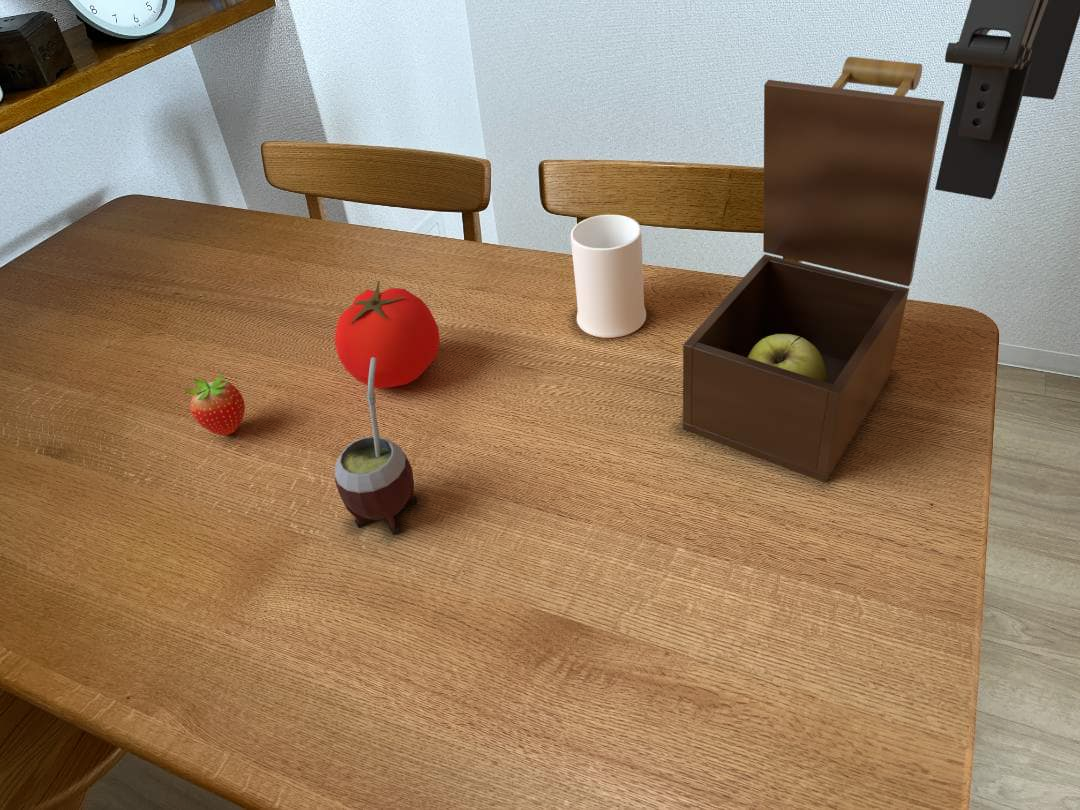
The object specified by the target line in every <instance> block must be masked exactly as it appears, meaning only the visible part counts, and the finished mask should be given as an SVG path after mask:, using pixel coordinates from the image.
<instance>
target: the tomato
mask: <svg viewBox="0 0 1080 810" xmlns="http://www.w3.org/2000/svg"><path fill="white" fill-rule="evenodd" d="M347 307H348V308H346V309H345V310H343V312H342V313H341V315H339V317H338V320H337V324H336V328H335V333H334V346H335V349H336V353H337V356H338V359H339V361H340V362H341V364H342V366H343V367H344V369H345V370H346V371H347V372H348V373H349V374H350V376H352V377H353V378H354V379H355V381H357V382H360V383H361V384H363V385H366V386H368V377H369V369H370V361H371V358H376V367H375V375H374V389H375V388H376V389H386V388H387V389H388V388H394V387H401V386H405V385H408V384H410V383H412V382H414V381H415V380H417V379H418V378H419V377H420V376H421V375H422V374H423V373H424V372H425V371H426V370H427V369H428V367H429V366H430V365H431V364H432V362H433V361H434V360H435V359H436V356H437V354H438V350H439V347H440V345H441V340H440V339H441V338H440V331H439V330H440V329H439V325H438V324H437V321H436V320H435V318H434V315H433V313H432V312H431V309H430V308H429V307H428V305H426V303H425V302H424V301H423V300H422V299H421V298H420V297H418V296H416V295H415V294H414V293H412V292H410V291H409V290H407V289H406V288H400V287H399V288H398V287H389V288H387V289H385V290H384V291H382V292H380V280H378V281H377V283H376V288H375V290H373V289H366V290H364V291H363V292H361V293H360V294H358V295H356V296H355V297H354V300H353V301H352V303H351V304H350V305H347Z"/></svg>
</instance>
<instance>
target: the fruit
mask: <svg viewBox="0 0 1080 810" xmlns="http://www.w3.org/2000/svg"><path fill="white" fill-rule="evenodd" d="M193 380H194V383H195V385H196V387H198V388H190V389H186V388H184V389H182V390H183V391H185V392H186V393H188V394H193V396H192V397H191V400H190V405H189V408H190V413H191V415H192V417H193V418H194V420H195V421H196V422H197V423H198V424H199V425H200V426H201V427H203V428H204V429H205V430H207V431H209V432H211V433H212V434H216V435H219V436H228V435H231V434H233V433H236V431H237V430H238V429H239V428H240V425H241V424H242V422H243V419H244V416H245V411H246V405H245V404H246V403H245V399H244V398H243V394H241V391H240V390H239V389H238V388H237V387H236V386H235V385H234V384H232V383H230V382H229V381H230V379H228V380H223V373H222V374H221V375H219V376H218V377H217V378H216V379H215V380H212V381H209V382H207V380H206V378H203V380H200V379H197V378H195V377H194V378H193Z"/></svg>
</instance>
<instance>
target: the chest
mask: <svg viewBox="0 0 1080 810" xmlns="http://www.w3.org/2000/svg"><path fill="white" fill-rule="evenodd" d="M909 293H910V288H909V287H906V286H902V285H899V286H898V285H895V284H891V283H889V282H883V281H880V280H879V281H878V280H876V279H871V278H868V277H862V276H857V275H855V274H851V273H850V274H849V273H847V272H842V271H837V270H833V269H830V268H829V269H828V268H826V267H821V266H816V265H813V264H812V265H811V264H809V263H808V264H807V263H805V262H801V261H796V260H791V259H788V258H787V259H786V258H784V257H783V258H782V257H780V256H779V257H778V256H773V255H771V254H767V253H764V254H763V255H762V256H761V258H760V259H759V260H758V261H757V262H756V263H755V264H754V265H753V266H752V268H751V269H749V270H748V272H747V273H746V274H745V275H744V277H743V278H742V279H741V280H740V281H739V282H738V283H737V284H736V285H735V286H734V287H733V289H731V291H730V292H729V293H728V294H727V295H726V296H725V298H723V300H721V302H720V303H719V304H718V305H717V306H716V308H715V309H714V310H713V311H712V312H711V313H710V314H709V315H708V317H707V318H706V319H705V320H704V321H703V322H702V323H701V324H700V325H699V327H697V329H696V330H695V331H694V332H693V333H692V334H691V336H689V337H688V339H687V340H686V341H685V342H684V343H683V345H682V430H684V431H686V432H689V433H692V434H695V435H697V436H700V437H703V438H704V439H708V440H710V441H713V442H715V443H718V444H720V445H724V446H726V447H729V448H732V449H733V450H734V449H735V450H737V451H740V452H742V453H745V454H747V455H750V456H753V457H756V458H758V459H761V460H764V461H766V462H769V463H770V464H771V463H772V464H774V465H777V466H780V467H782V468H785V469H788V470H791V471H793V472H795V473H798V474H801V475H804V476H806V477H809V478H812V479H814V480H817V481H819V482H822V483H826V482H827V481H828V479H829V477H830V475H831V473H832V472H833V471H834V469H835V468H836V465H837V464H838V463H839V460H840V459H841V457H842V456H843V454H844V452H845V450H846V449H847V448H848V445H849V444H850V443H851V441H852V439H853V437H854V436H855V434H856V432H857V431H858V429H859V428H860V426H861V424H862V423H863V421H864V419H865V418H866V416H867V414H868V412H869V411H870V409H871V408H872V406H873V404H874V403H875V401H876V400H877V398H878V396H879V395H880V393H881V391H882V389H883V388H884V387H885V384H886V383H887V382H888V380H889V378H890V376H891V373H892V369H893V364H894V359H895V356H896V350H897V346H898V342H899V337H900V333H901V329H902V324H903V319H904V315H905V311H906V306H907V301H908V297H909ZM775 334H791V335H796V336H799V337H802V338H804V339H806V340H807V341H809V342H810V343H811V344H813V345H814V346H815V347H816V348H817V350H818V351H819V353H820V355H821V357H822V359H823V361H824V365H825V369H826V382H824V381H821V380H818V379H814V378H811V377H808V376H805V375H802V374H798V373H795V372H792V371H789V370H785V369H782V368H779V367H776V366H773V365H769V364H766V363H763V362H760V361H757V360H753V359H750V358H747V357H748V355H749V353H750V352H751V350H752V349H753V347H754V346H755V345H756V344H757V343H758V342H759V341H760V340H762V339H763V338H766V337H768V336H771V335H775Z"/></svg>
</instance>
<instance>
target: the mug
mask: <svg viewBox="0 0 1080 810" xmlns="http://www.w3.org/2000/svg"><path fill="white" fill-rule="evenodd" d="M642 234H643V233H642V227H641V225H640V223H639V222H638V221H637V220H635V219H634V218H632V217H629V216H626V215H622V214H600V215H594V216H590V217H588V218H586V219H583V220H581V221H580V222H578V223H577V224H576V225H575V226H573V228H572V229H571V231H570V243H571V255H572V265H573V275H574V284H575V295H576V304H577V306H576V307H577V314H576V324H577V325H578V327H579V328H580V329H581V330H582V331H583V332H584V333H586V334H588V335H589V336H593V337H597V338H603V339H613V338H614V339H615V338H621V337H625V336H629V335H630V334H632V333H634V332H636V331H638V330H639V329H640V328H641V327H642V326H643V325H644V323H645V322H646V319H647V310H646V307H645V295H644V269H643V268H644V264H643V239H642V237H643V236H642Z"/></svg>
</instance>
